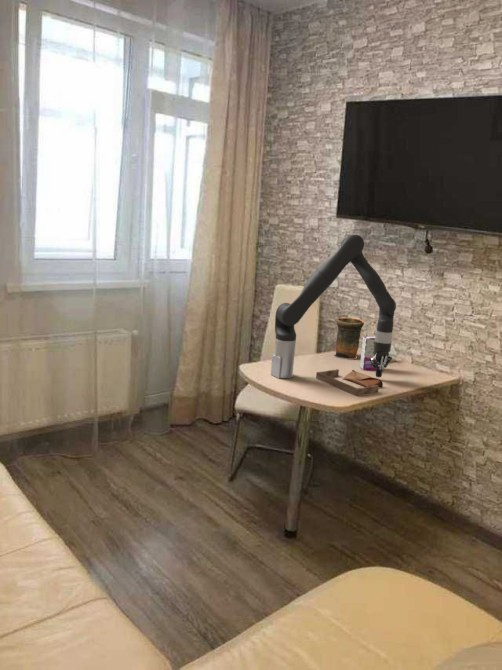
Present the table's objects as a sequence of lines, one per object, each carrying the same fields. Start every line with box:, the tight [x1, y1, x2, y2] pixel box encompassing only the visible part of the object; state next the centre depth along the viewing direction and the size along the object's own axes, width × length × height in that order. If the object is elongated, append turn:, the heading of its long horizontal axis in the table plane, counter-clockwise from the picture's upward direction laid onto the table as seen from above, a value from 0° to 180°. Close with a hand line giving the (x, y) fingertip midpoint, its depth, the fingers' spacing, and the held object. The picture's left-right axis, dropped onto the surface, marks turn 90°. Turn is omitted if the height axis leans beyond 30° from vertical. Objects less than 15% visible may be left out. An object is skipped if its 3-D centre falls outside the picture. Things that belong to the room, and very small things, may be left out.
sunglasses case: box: [342, 369, 384, 389], centre depth 252 cm, size 18×7×7 cm, turn 40°
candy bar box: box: [359, 335, 385, 371], centre depth 274 cm, size 11×5×16 cm, turn 101°
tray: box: [315, 368, 380, 397], centre depth 246 cm, size 13×26×3 cm, turn 35°
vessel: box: [333, 317, 365, 361], centre depth 295 cm, size 14×14×20 cm
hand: (378, 376), depth 258 cm, fingers closed
